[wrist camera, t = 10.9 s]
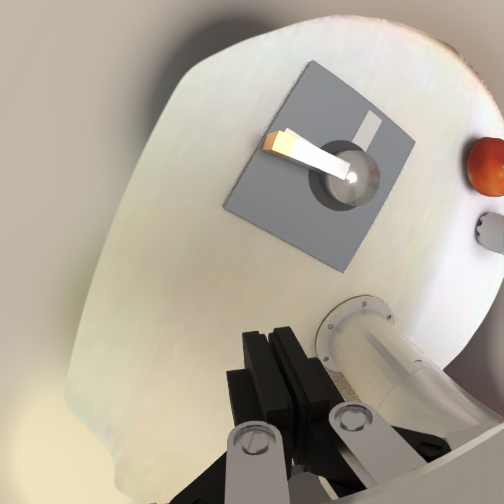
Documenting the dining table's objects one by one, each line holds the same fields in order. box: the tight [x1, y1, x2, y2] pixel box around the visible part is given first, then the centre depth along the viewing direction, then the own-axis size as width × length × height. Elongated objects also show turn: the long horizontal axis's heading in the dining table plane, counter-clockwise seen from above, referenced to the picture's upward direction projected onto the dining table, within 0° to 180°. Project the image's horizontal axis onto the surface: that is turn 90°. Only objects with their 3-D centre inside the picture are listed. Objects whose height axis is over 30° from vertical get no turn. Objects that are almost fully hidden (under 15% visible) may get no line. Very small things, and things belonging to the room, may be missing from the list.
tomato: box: [467, 137, 504, 197], centre depth 37 cm, size 9×9×8 cm
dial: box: [262, 131, 380, 206], centre depth 32 cm, size 13×6×5 cm, turn 69°
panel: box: [223, 60, 415, 273], centre depth 36 cm, size 17×20×2 cm
